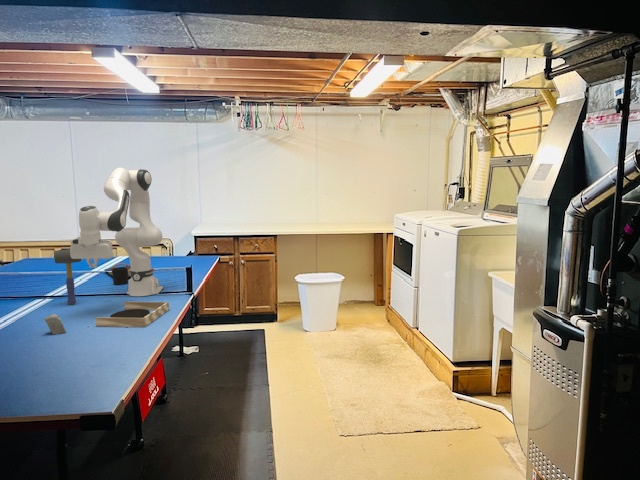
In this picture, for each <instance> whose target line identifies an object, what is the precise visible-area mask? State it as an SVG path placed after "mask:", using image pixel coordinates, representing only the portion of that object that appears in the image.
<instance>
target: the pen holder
mask: <svg viewBox="0 0 640 480" xmlns="http://www.w3.org/2000/svg"><path fill="white" fill-rule="evenodd" d="M118 267H119V268H116V267H115V268H113V269H112V275H113V276H112V275H111V276H112V282H113V285H115V286H125V285H127V284H128V285H129V277H128V269H127V268H125V266H118Z"/></svg>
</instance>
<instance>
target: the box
mask: <svg viewBox="0 0 640 480" xmlns="http://www.w3.org/2000/svg"><path fill="white" fill-rule="evenodd" d="M130 309H145V310H148V311H151V312H150V314H148V315H147V316H145V317H144V318H115V317H110V316H109V317H102V316H101V317H100V316H99V317H95V327H105V328H106V327H107V328H108V327H110V328H111V327H112V328H113V327H115V328H116V327H117V328H122V327H123V328H146V327H147V326H148V325H150V324H151V323H153V322H154V321H155V320H157V319H158V318H159V317H161V316H162V315H164V314H165V313H166V312H168V311H169V310H170V302H169V301H124V310H130Z"/></svg>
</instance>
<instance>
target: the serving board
mask: <svg viewBox="0 0 640 480" xmlns="http://www.w3.org/2000/svg"><path fill="white" fill-rule="evenodd" d="M120 266H124V267H125V268H127V269H128V278H129V277H130V271H131V270H130V269H131V266H130V264H127V263H125V262H124V263H123V262H120V263H116V264H114V265H113V266H111V267H109V268H105V269H104V270H103V271H105V272H106V271H112V269H113V268H119V267H120ZM107 274H109V276H112V277H113V275H112V272H108V273H107ZM130 278H131V277H130Z"/></svg>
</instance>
